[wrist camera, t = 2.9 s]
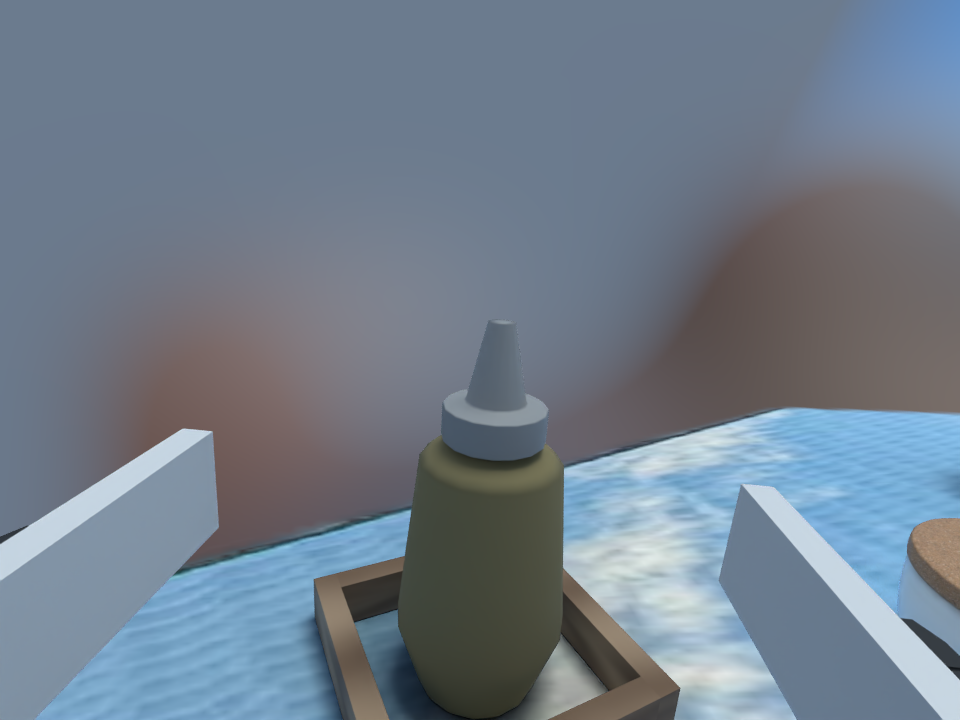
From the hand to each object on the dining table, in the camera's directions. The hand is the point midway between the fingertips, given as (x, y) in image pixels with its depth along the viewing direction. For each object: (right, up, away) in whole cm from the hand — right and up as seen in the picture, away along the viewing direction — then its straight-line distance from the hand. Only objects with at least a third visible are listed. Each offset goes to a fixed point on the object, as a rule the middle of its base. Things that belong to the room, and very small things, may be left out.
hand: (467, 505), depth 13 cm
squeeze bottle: (0, -12, +14) cm, 18 cm away
